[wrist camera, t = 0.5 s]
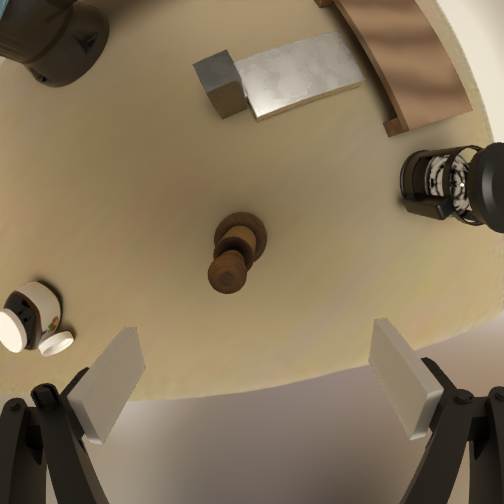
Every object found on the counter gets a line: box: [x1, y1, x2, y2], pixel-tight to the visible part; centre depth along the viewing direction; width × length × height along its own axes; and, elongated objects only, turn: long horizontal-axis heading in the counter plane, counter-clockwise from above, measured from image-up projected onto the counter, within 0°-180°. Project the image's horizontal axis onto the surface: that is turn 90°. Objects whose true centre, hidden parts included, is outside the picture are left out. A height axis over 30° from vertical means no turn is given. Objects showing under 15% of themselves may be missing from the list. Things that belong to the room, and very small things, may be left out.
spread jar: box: [0, 282, 74, 356], centre depth 38 cm, size 12×11×12 cm
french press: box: [400, 142, 504, 233], centre depth 26 cm, size 12×9×23 cm
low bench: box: [314, 0, 473, 137], centre depth 30 cm, size 24×12×6 cm, turn 24°
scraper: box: [193, 31, 365, 122], centre depth 29 cm, size 8×19×12 cm, turn 114°
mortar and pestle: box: [208, 213, 267, 294], centre depth 31 cm, size 7×6×18 cm
